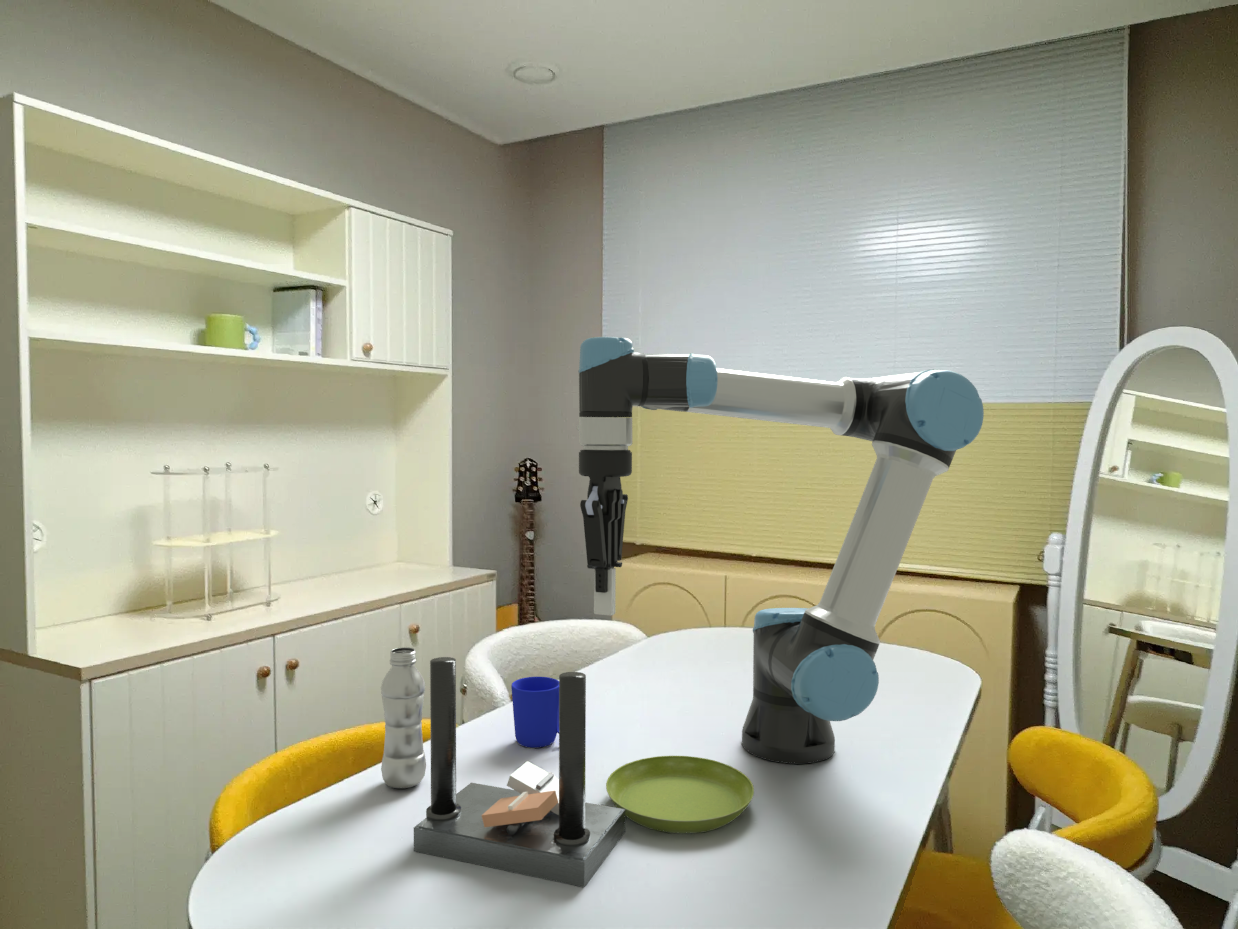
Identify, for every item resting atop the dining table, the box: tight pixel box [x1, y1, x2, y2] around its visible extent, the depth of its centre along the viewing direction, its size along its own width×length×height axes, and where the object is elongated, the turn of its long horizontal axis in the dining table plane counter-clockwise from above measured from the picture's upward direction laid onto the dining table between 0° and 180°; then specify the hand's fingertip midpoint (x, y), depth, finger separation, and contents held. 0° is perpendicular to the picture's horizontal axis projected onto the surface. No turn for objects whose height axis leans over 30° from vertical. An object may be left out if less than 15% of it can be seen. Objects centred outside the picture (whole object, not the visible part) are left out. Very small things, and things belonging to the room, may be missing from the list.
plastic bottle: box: [380, 646, 427, 789], centre depth 122 cm, size 6×7×20 cm
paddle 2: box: [482, 791, 558, 827], centre depth 103 cm, size 8×5×2 cm, turn 70°
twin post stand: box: [413, 656, 626, 888], centre depth 105 cm, size 24×14×23 cm, turn 70°
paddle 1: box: [506, 760, 559, 815], centre depth 109 cm, size 8×5×2 cm, turn 70°
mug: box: [510, 676, 559, 749], centre depth 138 cm, size 8×12×10 cm
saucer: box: [605, 755, 755, 834], centre depth 116 cm, size 21×21×3 cm
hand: (604, 613), depth 118 cm, fingers closed
